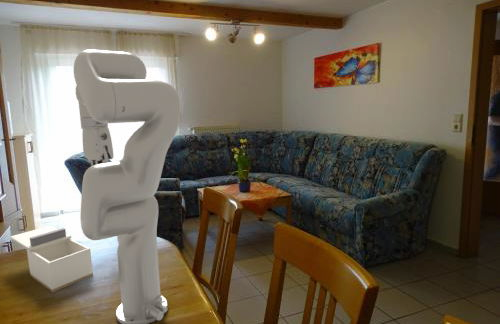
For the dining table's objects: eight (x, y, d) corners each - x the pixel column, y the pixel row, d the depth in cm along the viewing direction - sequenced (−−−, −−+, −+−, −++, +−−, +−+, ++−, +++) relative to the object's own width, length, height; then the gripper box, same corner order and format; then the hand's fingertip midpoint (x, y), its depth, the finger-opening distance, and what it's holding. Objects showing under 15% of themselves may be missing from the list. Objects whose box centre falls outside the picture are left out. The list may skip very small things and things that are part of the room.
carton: (93, 275, 107) (90, 248, 105) (52, 292, 97) (48, 263, 96) (69, 261, 116) (66, 236, 115) (30, 275, 107) (26, 249, 105)
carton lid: (71, 237, 113) (70, 228, 112) (29, 251, 103) (28, 240, 103) (50, 227, 123) (49, 219, 122) (10, 238, 113) (9, 229, 113)
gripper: (119, 123, 102) (124, 182, 105) (93, 122, 111) (99, 176, 114) (95, 124, 96) (101, 187, 99) (70, 123, 105) (76, 181, 108)
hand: (100, 181), depth 107 cm, fingers closed
